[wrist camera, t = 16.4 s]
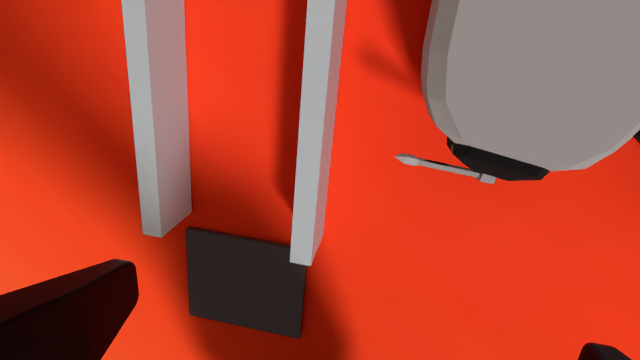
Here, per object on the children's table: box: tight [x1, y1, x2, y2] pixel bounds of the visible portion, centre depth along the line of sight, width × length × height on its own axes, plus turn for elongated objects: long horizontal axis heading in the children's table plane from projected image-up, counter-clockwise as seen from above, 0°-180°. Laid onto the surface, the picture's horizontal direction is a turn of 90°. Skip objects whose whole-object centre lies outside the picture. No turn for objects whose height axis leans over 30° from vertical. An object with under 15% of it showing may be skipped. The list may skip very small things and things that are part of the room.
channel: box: [122, 0, 347, 266], centre depth 18 cm, size 12×8×3 cm
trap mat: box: [186, 227, 306, 339], centre depth 23 cm, size 6×7×1 cm
